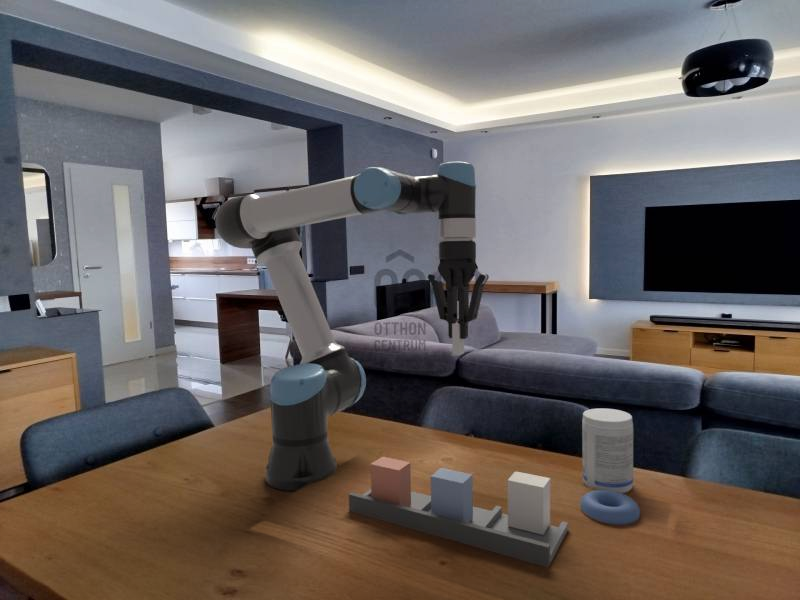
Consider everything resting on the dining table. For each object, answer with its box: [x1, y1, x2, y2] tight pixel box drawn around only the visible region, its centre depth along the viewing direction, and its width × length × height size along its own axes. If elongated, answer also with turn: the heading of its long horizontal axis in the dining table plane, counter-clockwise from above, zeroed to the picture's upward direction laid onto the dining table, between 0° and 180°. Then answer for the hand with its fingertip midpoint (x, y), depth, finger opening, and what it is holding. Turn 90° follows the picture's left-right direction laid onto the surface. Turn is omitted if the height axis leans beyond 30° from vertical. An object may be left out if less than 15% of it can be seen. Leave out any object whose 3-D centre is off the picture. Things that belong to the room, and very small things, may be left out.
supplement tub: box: [581, 407, 634, 494], centre depth 108 cm, size 10×10×15 cm
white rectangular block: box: [507, 470, 551, 535], centre depth 90 cm, size 6×4×8 cm, turn 59°
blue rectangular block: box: [430, 467, 474, 523], centre depth 92 cm, size 6×4×8 cm, turn 59°
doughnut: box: [579, 489, 641, 526], centre depth 95 cm, size 10×10×5 cm
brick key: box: [370, 456, 412, 507], centre depth 98 cm, size 6×4×8 cm, turn 59°
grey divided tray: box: [348, 488, 569, 568], centre depth 93 cm, size 36×12×4 cm, turn 59°
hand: (458, 353), depth 112 cm, fingers closed
